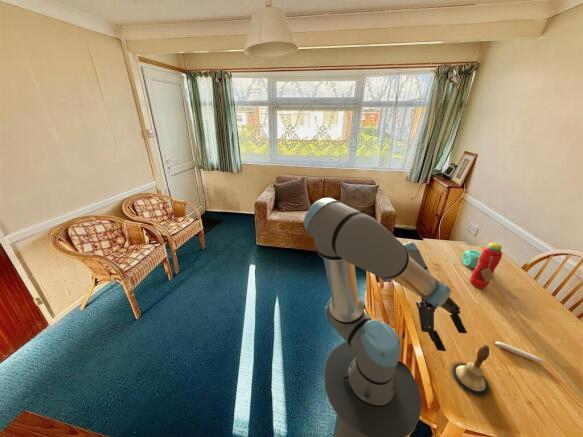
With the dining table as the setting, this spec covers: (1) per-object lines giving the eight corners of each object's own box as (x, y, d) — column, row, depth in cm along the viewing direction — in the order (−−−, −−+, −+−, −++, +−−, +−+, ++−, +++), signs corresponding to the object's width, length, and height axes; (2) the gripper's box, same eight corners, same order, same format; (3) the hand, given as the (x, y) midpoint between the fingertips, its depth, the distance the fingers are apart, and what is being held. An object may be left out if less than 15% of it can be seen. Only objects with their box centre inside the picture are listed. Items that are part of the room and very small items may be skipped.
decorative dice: (474, 261, 138) (479, 250, 134) (482, 269, 131) (488, 258, 127) (460, 260, 139) (464, 249, 135) (467, 268, 132) (472, 256, 128)
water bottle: (487, 296, 112) (508, 254, 101) (467, 289, 117) (485, 248, 106) (487, 283, 121) (506, 243, 110) (469, 277, 125) (485, 238, 114)
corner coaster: (472, 399, 72) (473, 398, 72) (445, 368, 81) (446, 367, 81) (496, 390, 75) (496, 389, 74) (467, 361, 83) (468, 360, 83)
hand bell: (451, 375, 78) (467, 344, 72) (461, 361, 83) (477, 331, 76) (479, 397, 72) (499, 366, 65) (489, 381, 77) (509, 350, 70)
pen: (544, 366, 82) (546, 363, 81) (494, 345, 89) (496, 342, 88) (543, 362, 83) (545, 359, 82) (494, 342, 90) (495, 339, 90)
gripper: (410, 293, 76) (442, 360, 71) (451, 270, 88) (481, 326, 82) (393, 295, 83) (422, 356, 78) (433, 273, 94) (460, 325, 89)
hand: (452, 341), depth 80 cm, fingers open, 13 cm apart
